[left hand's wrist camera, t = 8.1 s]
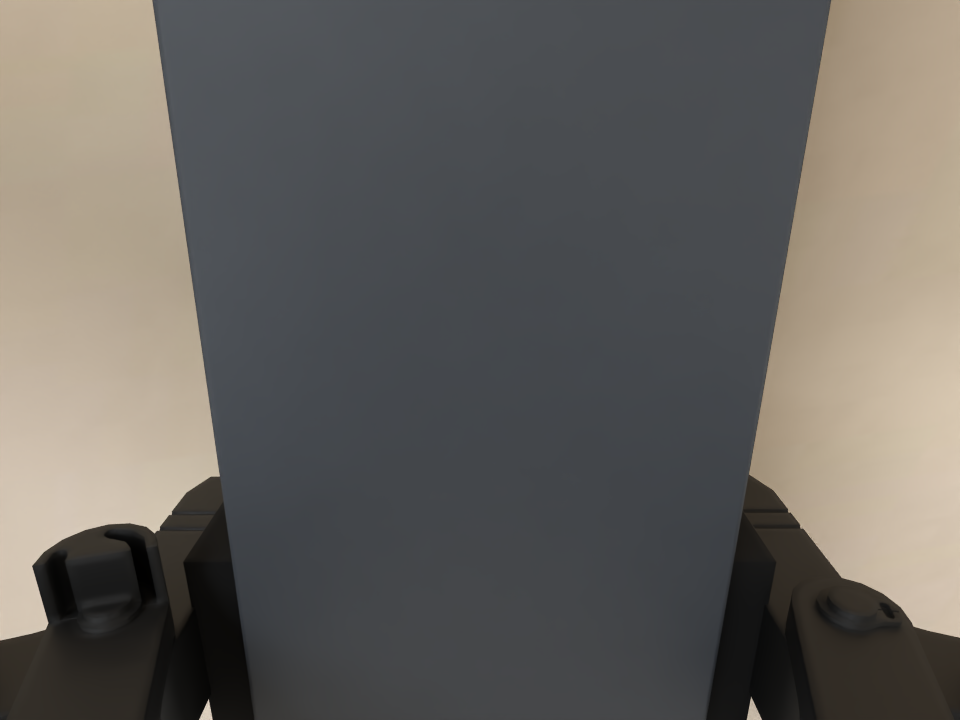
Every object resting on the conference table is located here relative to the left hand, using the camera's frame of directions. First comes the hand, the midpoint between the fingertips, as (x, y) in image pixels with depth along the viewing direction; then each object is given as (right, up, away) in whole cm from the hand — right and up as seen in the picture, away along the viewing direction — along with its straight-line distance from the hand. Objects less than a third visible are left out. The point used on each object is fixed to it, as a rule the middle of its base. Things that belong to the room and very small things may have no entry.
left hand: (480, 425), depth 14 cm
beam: (0, +25, -9) cm, 27 cm away
